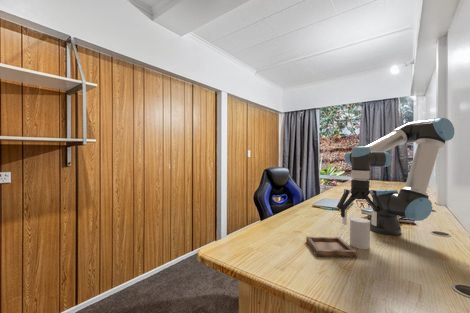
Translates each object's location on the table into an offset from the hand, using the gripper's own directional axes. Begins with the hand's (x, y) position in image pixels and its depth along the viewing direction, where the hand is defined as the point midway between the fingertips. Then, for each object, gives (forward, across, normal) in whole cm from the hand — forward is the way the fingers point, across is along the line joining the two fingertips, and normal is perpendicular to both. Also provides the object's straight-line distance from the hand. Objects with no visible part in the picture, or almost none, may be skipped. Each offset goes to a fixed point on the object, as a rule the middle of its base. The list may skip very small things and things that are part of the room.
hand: (359, 224), depth 104 cm
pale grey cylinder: (+10, -1, 0) cm, 10 cm away
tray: (+10, +15, +5) cm, 19 cm away
